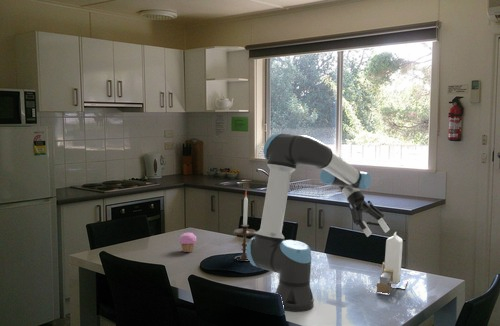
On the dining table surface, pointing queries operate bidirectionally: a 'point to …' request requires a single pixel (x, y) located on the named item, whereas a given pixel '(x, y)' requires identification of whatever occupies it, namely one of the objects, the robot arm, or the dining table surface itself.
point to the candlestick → (244, 230)
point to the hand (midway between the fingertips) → (378, 233)
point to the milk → (394, 256)
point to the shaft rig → (385, 280)
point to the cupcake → (187, 241)
